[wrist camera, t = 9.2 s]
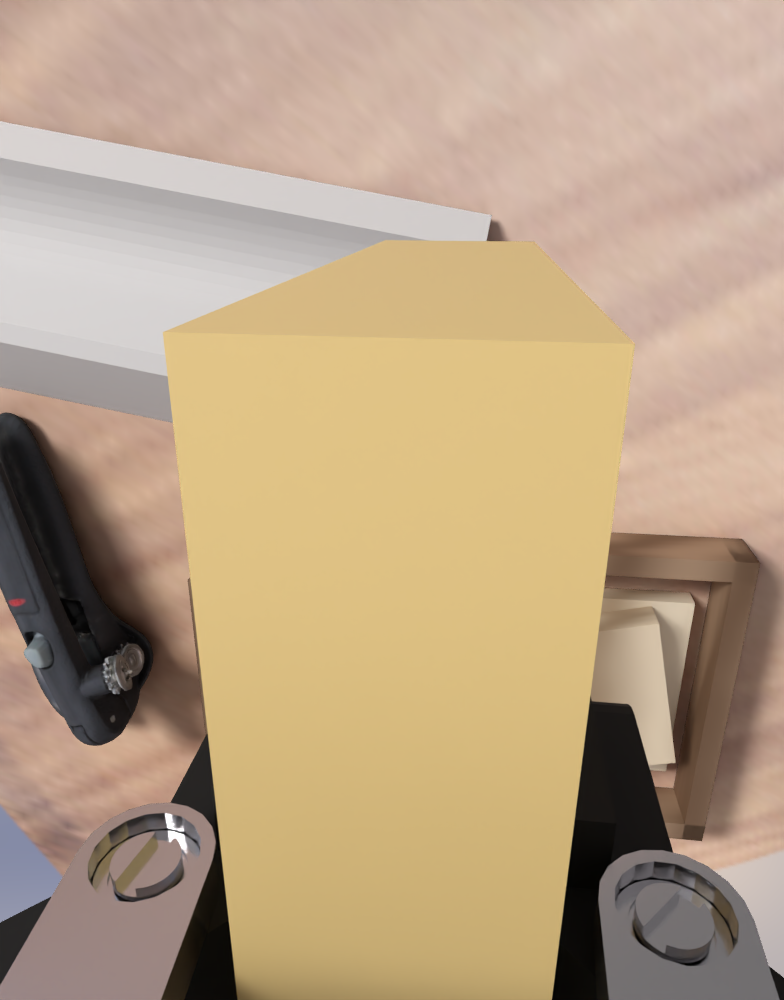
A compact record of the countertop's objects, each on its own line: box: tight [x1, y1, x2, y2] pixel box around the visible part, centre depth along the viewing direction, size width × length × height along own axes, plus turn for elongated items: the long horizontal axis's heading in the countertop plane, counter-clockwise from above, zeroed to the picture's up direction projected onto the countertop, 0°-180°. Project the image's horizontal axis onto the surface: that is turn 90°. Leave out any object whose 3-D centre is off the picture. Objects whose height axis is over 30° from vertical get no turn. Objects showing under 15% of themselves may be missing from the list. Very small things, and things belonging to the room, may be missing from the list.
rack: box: [188, 533, 760, 841], centre depth 36 cm, size 24×16×7 cm, turn 90°
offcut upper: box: [591, 606, 676, 765], centre depth 36 cm, size 6×8×2 cm
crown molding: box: [0, 121, 492, 423], centre depth 33 cm, size 31×12×4 cm, turn 80°
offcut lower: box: [601, 588, 695, 771], centre depth 38 cm, size 8×10×2 cm
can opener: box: [0, 413, 153, 746], centre depth 37 cm, size 18×7×6 cm, turn 12°
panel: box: [163, 240, 635, 1000], centre depth 10 cm, size 2×12×9 cm, turn 179°
